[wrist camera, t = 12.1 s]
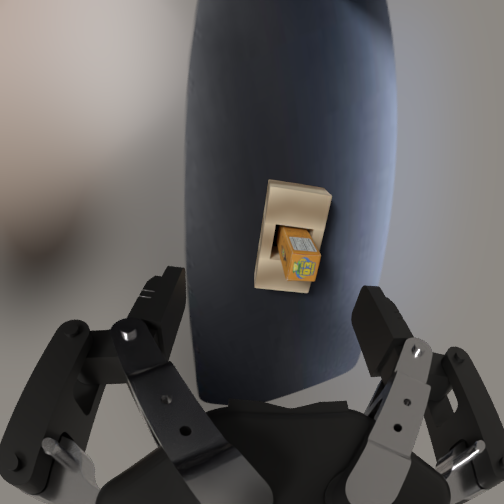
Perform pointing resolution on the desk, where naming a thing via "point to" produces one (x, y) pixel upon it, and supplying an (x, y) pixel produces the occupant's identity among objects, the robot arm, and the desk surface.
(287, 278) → the supplement box
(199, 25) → the desk surface
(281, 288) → the socket block
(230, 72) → the desk surface
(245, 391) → the desk surface
